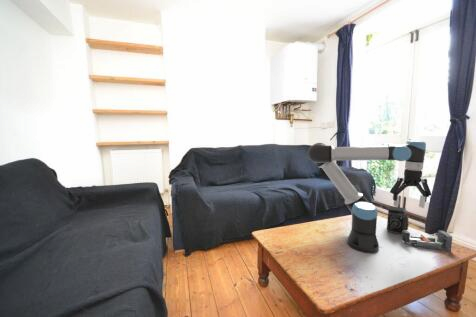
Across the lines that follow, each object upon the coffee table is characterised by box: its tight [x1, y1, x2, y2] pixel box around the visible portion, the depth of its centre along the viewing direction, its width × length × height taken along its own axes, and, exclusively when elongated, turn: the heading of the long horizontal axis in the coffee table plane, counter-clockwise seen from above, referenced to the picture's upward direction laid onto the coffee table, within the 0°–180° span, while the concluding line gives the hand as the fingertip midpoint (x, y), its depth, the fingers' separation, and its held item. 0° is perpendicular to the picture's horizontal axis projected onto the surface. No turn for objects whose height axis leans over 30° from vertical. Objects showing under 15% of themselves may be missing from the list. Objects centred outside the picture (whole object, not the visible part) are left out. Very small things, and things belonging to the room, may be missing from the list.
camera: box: [386, 205, 410, 235], centre depth 133 cm, size 10×11×15 cm
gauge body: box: [410, 229, 453, 252], centre depth 116 cm, size 16×7×8 cm, turn 75°
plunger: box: [401, 230, 422, 244], centre depth 118 cm, size 8×4×6 cm, turn 75°
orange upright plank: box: [420, 234, 430, 242], centre depth 117 cm, size 2×7×4 cm, turn 164°
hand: (408, 206), depth 118 cm, fingers open, 13 cm apart
